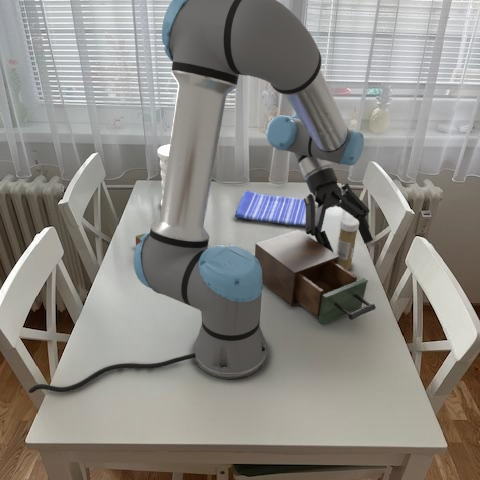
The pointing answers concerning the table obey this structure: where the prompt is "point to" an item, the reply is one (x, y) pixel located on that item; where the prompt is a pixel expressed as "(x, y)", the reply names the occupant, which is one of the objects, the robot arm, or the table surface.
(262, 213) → the dish towel
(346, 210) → the robot arm
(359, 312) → the drawer
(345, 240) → the sprinkles bottle
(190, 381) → the table surface
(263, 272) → the cabinet
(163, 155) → the decorative container
